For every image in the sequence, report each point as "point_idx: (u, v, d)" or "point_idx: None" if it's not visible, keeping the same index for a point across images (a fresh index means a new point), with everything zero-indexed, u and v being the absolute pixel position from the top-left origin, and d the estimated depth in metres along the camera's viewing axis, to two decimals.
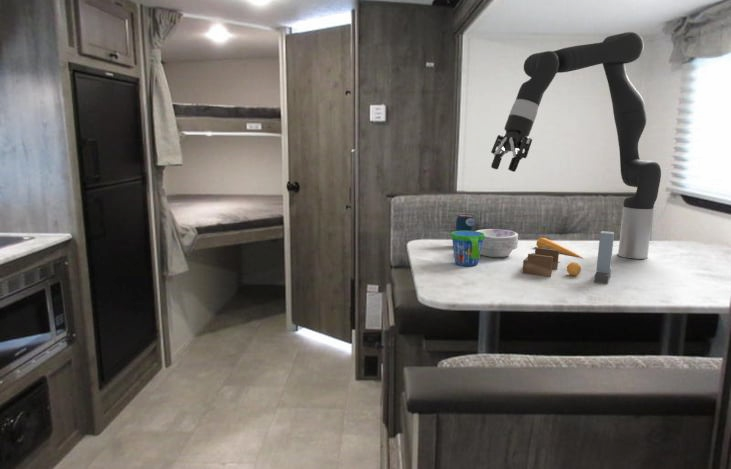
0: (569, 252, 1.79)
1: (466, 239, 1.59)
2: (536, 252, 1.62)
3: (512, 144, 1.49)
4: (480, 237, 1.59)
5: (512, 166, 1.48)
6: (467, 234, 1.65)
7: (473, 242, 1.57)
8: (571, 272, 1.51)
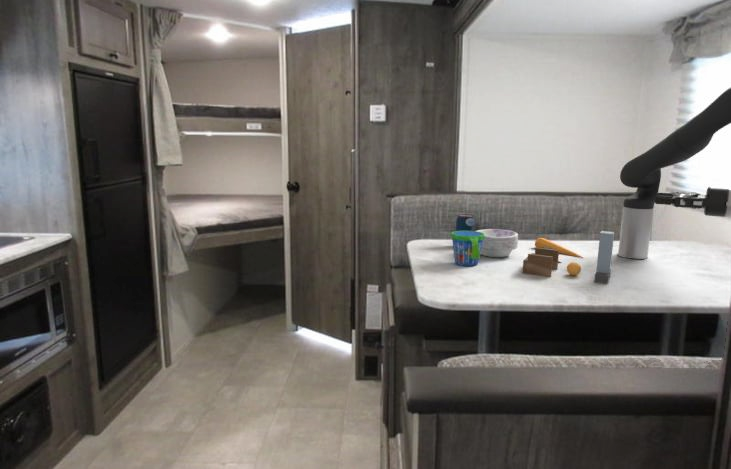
0: (569, 252, 1.78)
1: (466, 239, 1.59)
2: (536, 252, 1.62)
3: None
4: (480, 237, 1.59)
5: None
6: (467, 234, 1.65)
7: (473, 242, 1.57)
8: (571, 272, 1.51)
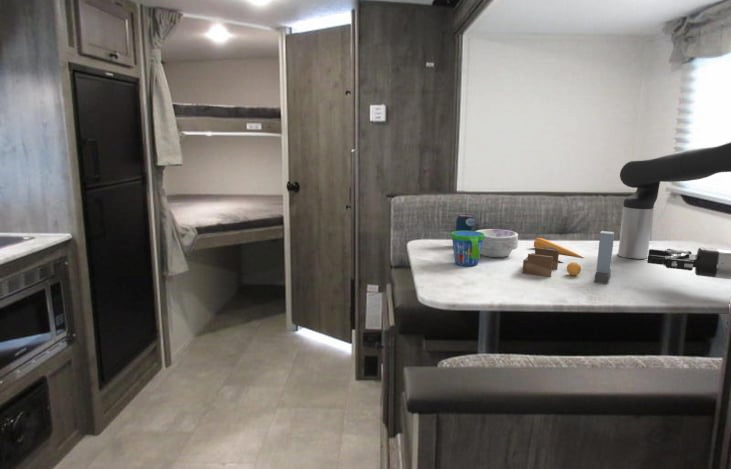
0: (569, 252, 1.78)
1: (466, 239, 1.59)
2: (536, 252, 1.62)
3: None
4: (480, 237, 1.59)
5: None
6: (467, 234, 1.65)
7: (473, 242, 1.57)
8: (571, 272, 1.51)
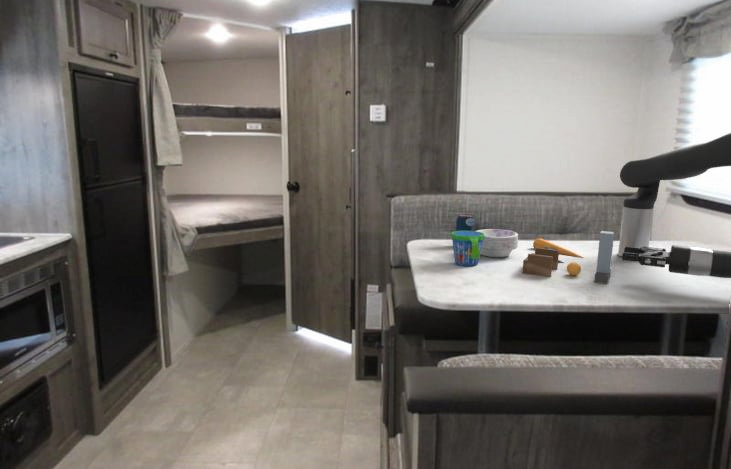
0: (569, 252, 1.78)
1: (466, 239, 1.59)
2: (536, 252, 1.62)
3: None
4: (480, 237, 1.59)
5: None
6: (467, 234, 1.65)
7: (473, 242, 1.57)
8: (571, 272, 1.51)
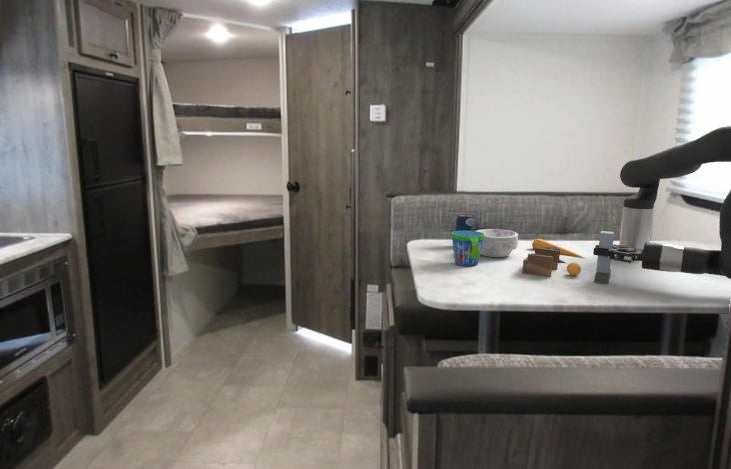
0: (570, 253, 1.78)
1: (466, 239, 1.59)
2: (536, 252, 1.62)
3: None
4: (480, 237, 1.59)
5: None
6: (467, 234, 1.65)
7: (473, 242, 1.57)
8: (571, 272, 1.51)
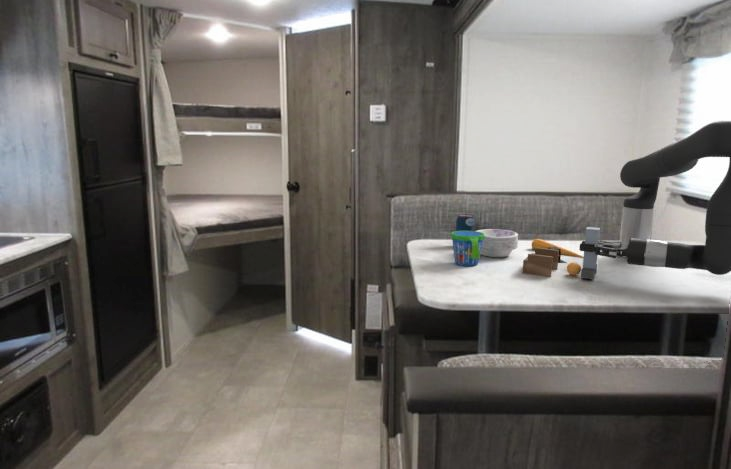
0: (570, 252, 1.78)
1: (466, 239, 1.59)
2: (536, 252, 1.62)
3: None
4: (480, 237, 1.59)
5: None
6: (467, 234, 1.65)
7: (473, 242, 1.57)
8: (571, 272, 1.51)
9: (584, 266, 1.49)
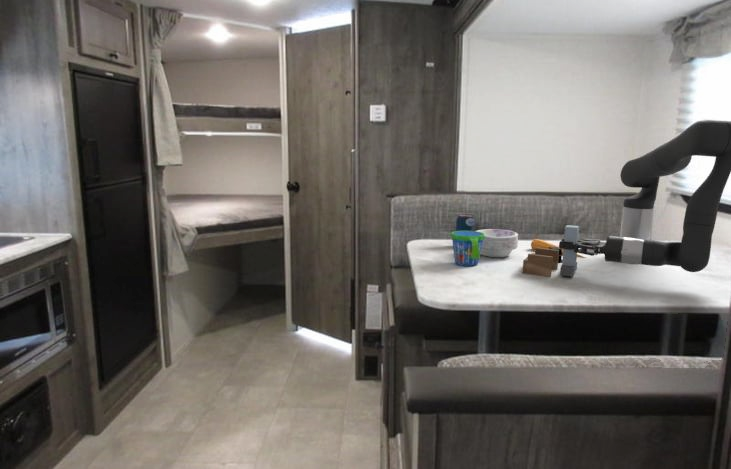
0: None
1: (466, 239, 1.59)
2: (536, 252, 1.62)
3: None
4: (480, 237, 1.59)
5: None
6: (467, 234, 1.65)
7: (473, 242, 1.57)
8: None
9: (563, 263, 1.52)
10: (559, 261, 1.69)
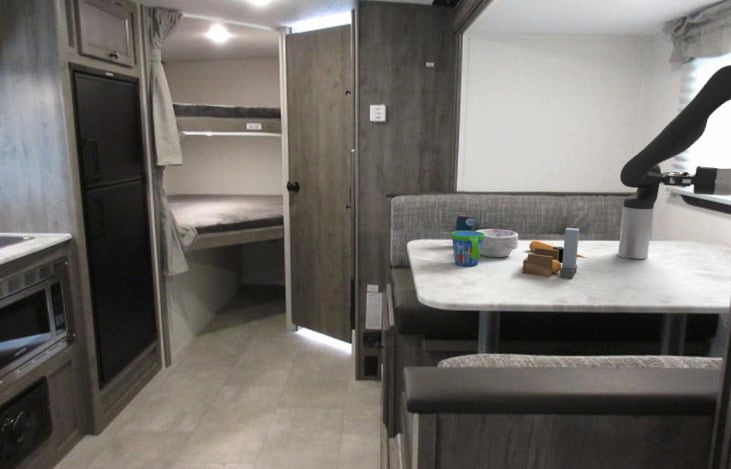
0: None
1: (466, 239, 1.59)
2: (536, 252, 1.62)
3: None
4: (480, 237, 1.59)
5: None
6: (467, 234, 1.65)
7: (473, 242, 1.57)
8: (555, 266, 1.53)
9: (563, 266, 1.52)
10: None
